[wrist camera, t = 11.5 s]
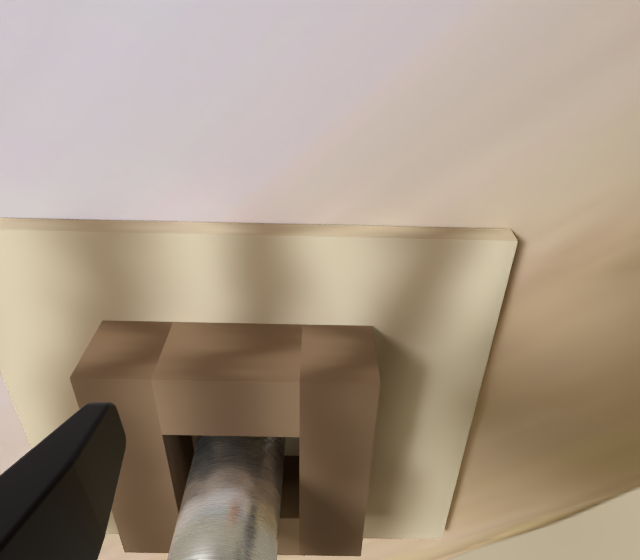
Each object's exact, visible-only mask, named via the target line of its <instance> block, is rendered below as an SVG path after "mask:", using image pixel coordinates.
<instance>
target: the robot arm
mask: <svg viewBox="0 0 640 560" xmlns="http://www.w3.org/2000/svg"><path fill="white" fill-rule="evenodd" d="M125 449H126V435H125V431H124V428H123V425H122V422H121V419H120V416H119V413H118V410H117V408H116V405H115V404H114V403H112V402H89V403H87V404H85V405H84V406H83V407H81V408H80V409H79V410H78V411H77V412H75V413H74V414H73V415H72V416H71V417H70V418H68V419H67V420H66V421H65V422H64V423H62V424H61V425H60V426H59V427H58V428H56V429H55V430H54V431H53V432H52V433H50V434H49V435H48V436H47V437H46V438H44V439H43V440H42V441H41V442H40V443H38V444H37V445H36V446H35V447H34V448H32V449H31V450H30V451H29V452H28V453H26V454H25V455H24V456H23V457H22V458H20V459H19V460H18V461H17V462H16V463H14V464H13V465H12V466H11V467H10V468H9V469H7V470H6V471H5V472H4V473H3V474H1V475H0V560H97V559H98V556H99V553H100V550H101V547H102V544H103V541H104V538H105V534H106V530H107V526H108V522H109V518H110V514H111V509H112V505H113V501H114V496H115V492H116V488H117V483H118V479H119V475H120V470H121V466H122V462H123V458H124V453H125Z"/></svg>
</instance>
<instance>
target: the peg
mask: <svg viewBox="0 0 640 560" xmlns="http://www.w3.org/2000/svg"><path fill="white" fill-rule="evenodd" d="M285 443H286V437H257V436H203V435H198V439H197V443H196V447H195V451H194V455H193V459H192V463H191V467H190V471H189V475H188V479H187V483H186V487H185V491H184V495H183V499H182V503H181V507H180V511H179V515H178V519H177V523H176V527H175V531H174V535H173V539H172V543H171V546H170V550H169V554H168V558H167V560H277V549H278V535H279V522H280V509H281V496H282V483H283V470H284V456H285Z"/></svg>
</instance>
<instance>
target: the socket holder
mask: <svg viewBox="0 0 640 560" xmlns="http://www.w3.org/2000/svg"><path fill="white" fill-rule="evenodd" d="M517 243H518V240H517V239H516V237H515V235H514V234H513V232H512V231H511V229H495V228H449V227H403V226H356V225H310V224H264V223H218V222H172V221H126V220H79V219H33V218H0V373H1V375H2V378H3V380H4V382H5V385H6V387H7V390H8V392H9V395H10V397H11V399H12V402H13V404H14V407H15V409H16V412H17V414H18V417H19V419H20V421H21V424H22V426H23V429H24V431H25V434H26V436H27V438H28V441H29V443H30V446H31V448H34V447H35V446H36V445H37V444H38V443H40V442H41V441H42V440H43V439H44V438H46V437H47V436H48V435H49V434H50V433H52V432H53V431H54V430H55V429H56V428H58V427H59V426H60V425H61V424H62V423H64V422H65V421H66V420H67V419H68V418H70V417H71V416H72V415H73V414H74V413H75V412H77V411H78V410H79V409H80V408H81V407H83V406H84V405H85V404H87V403H89V402H112V403H114V404H115V405H116V408H117V410H118V413H119V416H120V419H121V422H122V425H123V428H124V431H125V435H126V449H125V453H124V458H123V462H122V466H121V470H120V475H119V479H118V483H117V488H116V492H115V496H114V501H113V505H112V509H111V514H110V518H109V522H108V526H107V530H106V534H119V536H120V539H121V542H122V545H123V548H124V551H125V552H137V553H169V550H170V546H171V543H172V539H173V535H174V531H175V527H176V523H177V519H178V515H179V511H180V507H181V503H182V499H183V495H184V491H185V487H186V483H187V479H188V475H189V471H190V467H191V463H192V459H193V455H194V451H195V447H196V443H197V439H198V435H203V436H257V437H286V443H285V456H284V470H283V483H282V496H281V509H280V522H279V535H278V549H277V555H320V556H361V549H362V540H363V538H382V539H442V536H443V532H444V528H445V524H446V521H447V517H448V513H449V509H450V505H451V501H452V497H453V493H454V489H455V485H456V481H457V478H458V474H459V470H460V466H461V462H462V458H463V454H464V450H465V446H466V442H467V438H468V435H469V431H470V427H471V423H472V419H473V415H474V411H475V407H476V403H477V399H478V395H479V392H480V388H481V384H482V380H483V376H484V372H485V368H486V364H487V360H488V356H489V352H490V349H491V345H492V341H493V337H494V333H495V329H496V325H497V321H498V317H499V313H500V309H501V306H502V302H503V298H504V294H505V290H506V286H507V282H508V278H509V274H510V270H511V266H512V263H513V259H514V255H515V251H516V247H517Z"/></svg>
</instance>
